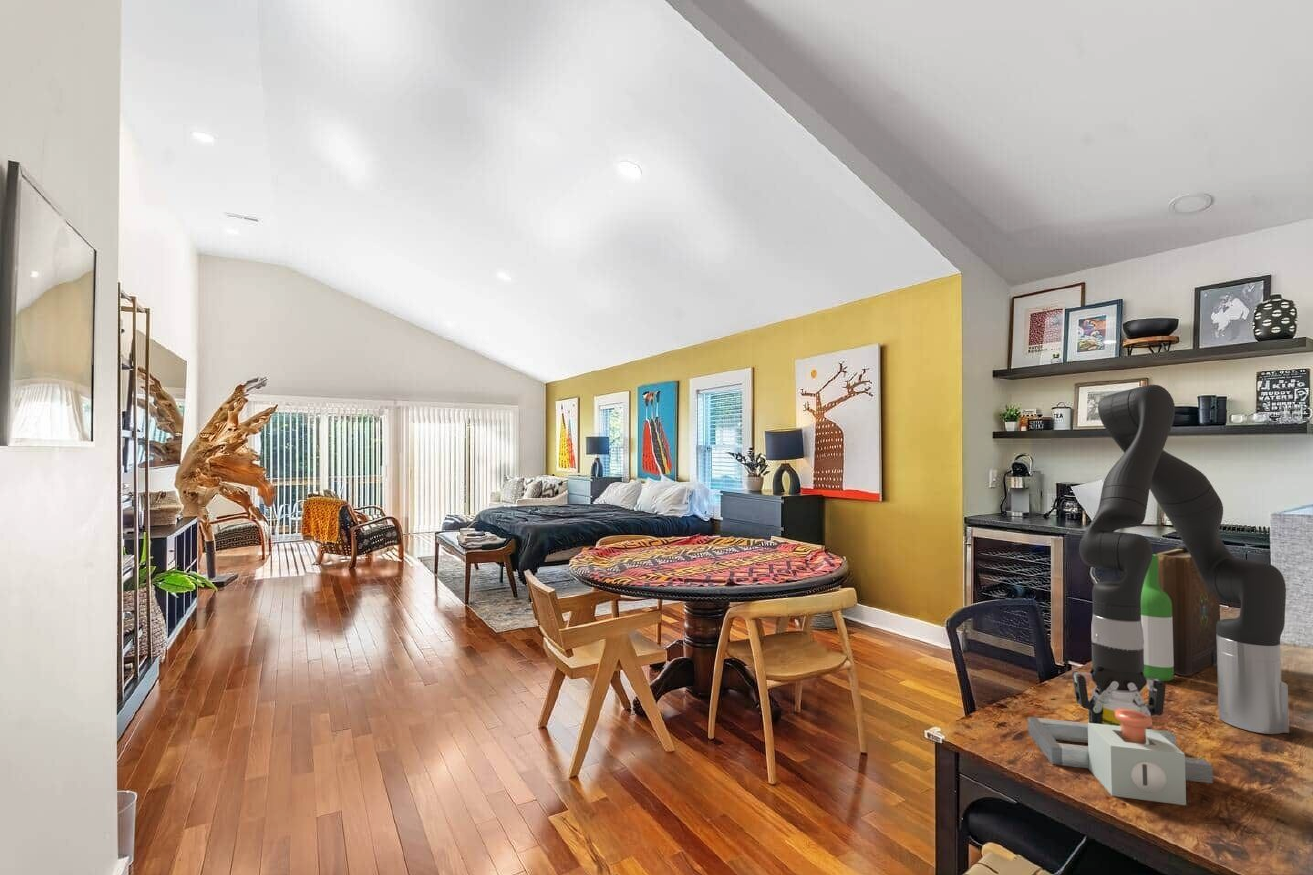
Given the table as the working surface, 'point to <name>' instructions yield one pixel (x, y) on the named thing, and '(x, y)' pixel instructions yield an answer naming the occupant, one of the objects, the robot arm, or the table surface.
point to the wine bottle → (1156, 627)
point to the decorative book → (1189, 612)
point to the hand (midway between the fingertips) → (1118, 733)
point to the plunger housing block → (1137, 765)
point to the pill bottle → (1118, 706)
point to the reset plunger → (1133, 725)
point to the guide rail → (1078, 755)
